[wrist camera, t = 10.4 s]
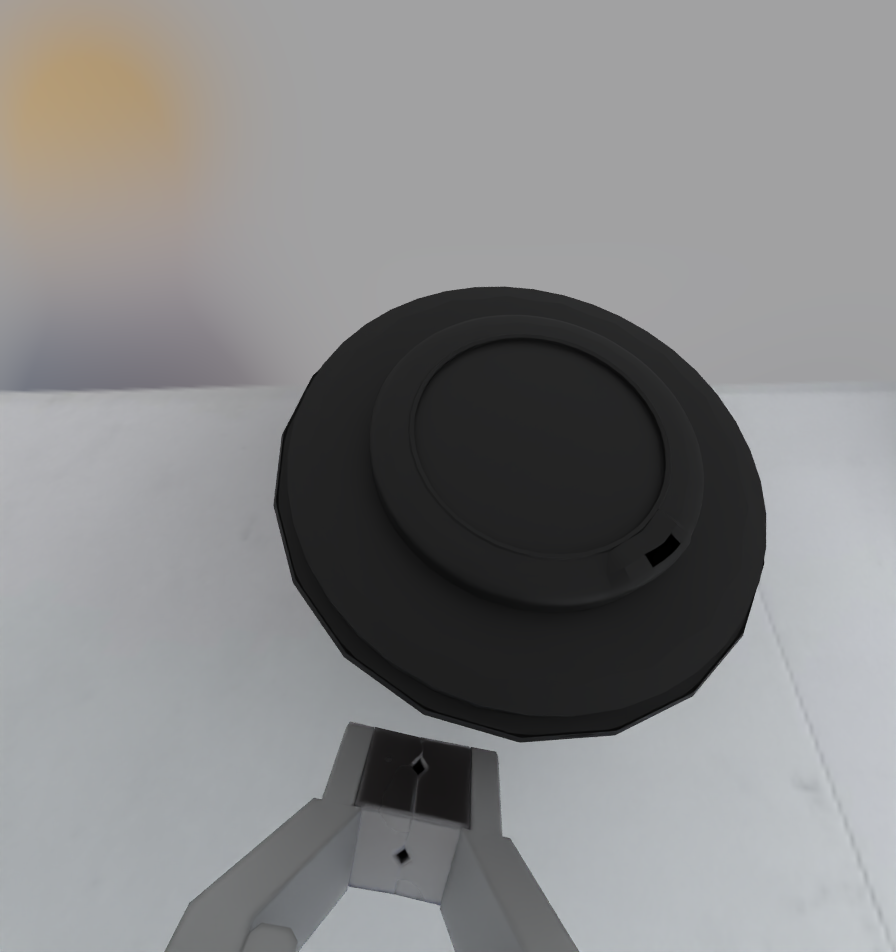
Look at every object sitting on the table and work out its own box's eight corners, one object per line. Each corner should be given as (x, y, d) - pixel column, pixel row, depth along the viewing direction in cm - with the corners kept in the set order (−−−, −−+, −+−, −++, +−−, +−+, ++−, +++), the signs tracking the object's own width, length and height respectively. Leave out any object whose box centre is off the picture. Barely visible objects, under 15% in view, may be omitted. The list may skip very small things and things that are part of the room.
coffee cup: (539, 789, 13) (812, 897, 5) (285, 663, 14) (109, 554, 5) (607, 541, 17) (829, 342, 8) (404, 454, 18) (412, 192, 9)
